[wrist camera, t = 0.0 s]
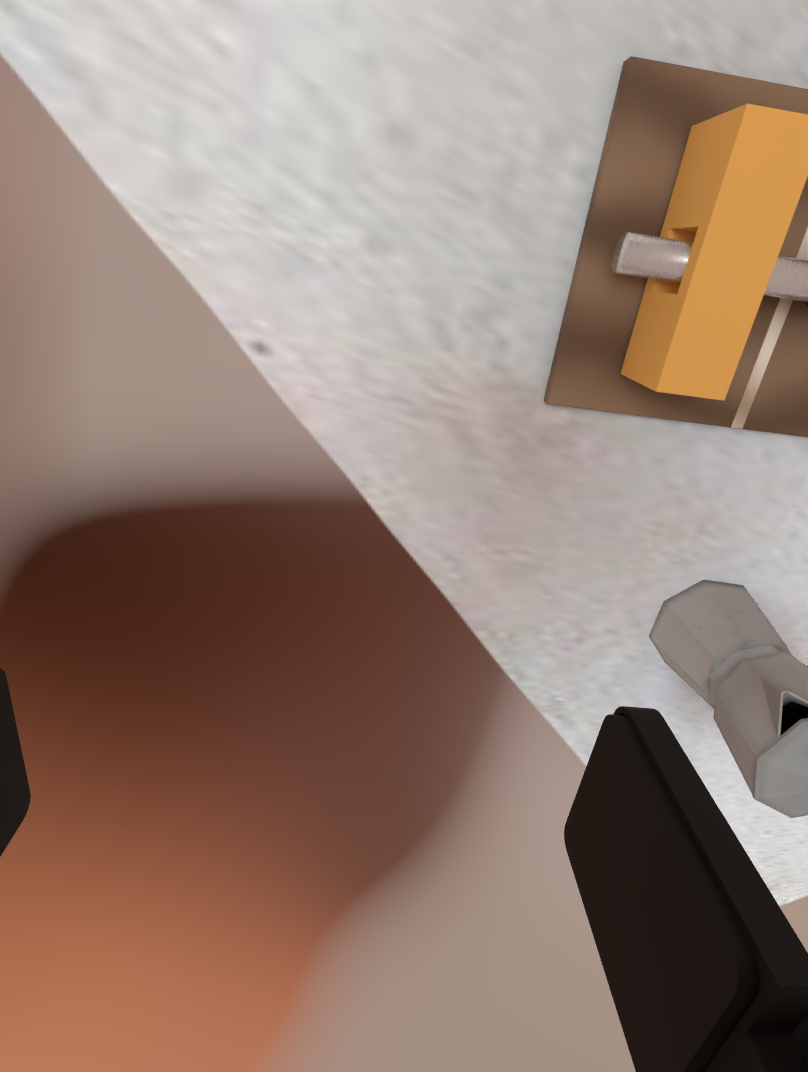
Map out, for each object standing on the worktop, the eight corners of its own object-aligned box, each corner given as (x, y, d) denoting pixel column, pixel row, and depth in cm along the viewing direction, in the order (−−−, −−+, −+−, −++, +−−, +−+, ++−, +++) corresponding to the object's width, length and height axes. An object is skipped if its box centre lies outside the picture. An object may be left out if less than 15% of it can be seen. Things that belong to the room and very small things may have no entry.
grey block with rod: (618, 183, 32) (657, 171, 28) (928, 234, 34) (1012, 231, 30) (585, 316, 35) (615, 325, 31) (871, 357, 37) (939, 371, 33)
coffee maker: (620, 598, 46) (752, 789, 29) (725, 539, 44) (929, 708, 27) (693, 715, 51) (837, 928, 35) (789, 667, 49) (989, 869, 33)
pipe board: (623, 62, 31) (631, 56, 30) (964, 125, 33) (982, 121, 32) (543, 400, 38) (547, 403, 38) (823, 436, 40) (833, 440, 39)
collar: (691, 125, 31) (747, 103, 26) (762, 138, 31) (829, 118, 27) (620, 373, 36) (655, 391, 32) (680, 381, 37) (724, 400, 32)
